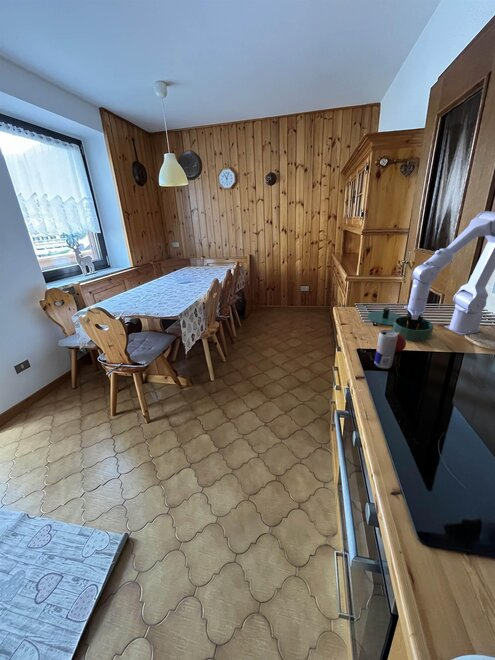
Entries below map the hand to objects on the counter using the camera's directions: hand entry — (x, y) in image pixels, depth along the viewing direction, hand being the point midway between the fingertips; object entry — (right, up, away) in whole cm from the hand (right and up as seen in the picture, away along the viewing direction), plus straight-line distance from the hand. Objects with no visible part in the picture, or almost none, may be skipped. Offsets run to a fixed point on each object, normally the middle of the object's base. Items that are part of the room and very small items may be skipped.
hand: (411, 328), depth 114 cm
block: (0, -1, 0) cm, 1 cm away
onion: (-13, -9, -12) cm, 20 cm away
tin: (-1, -2, -1) cm, 3 cm away
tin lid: (-5, +5, +12) cm, 14 cm away
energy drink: (-20, -12, -18) cm, 30 cm away
